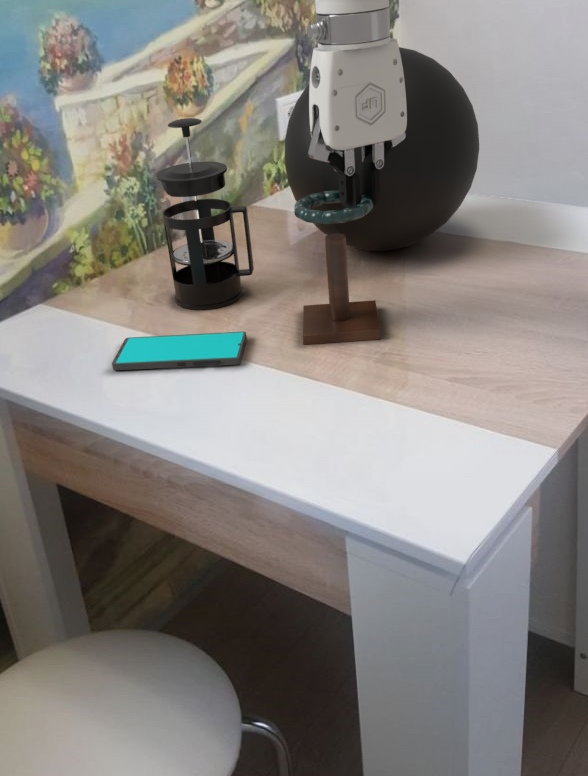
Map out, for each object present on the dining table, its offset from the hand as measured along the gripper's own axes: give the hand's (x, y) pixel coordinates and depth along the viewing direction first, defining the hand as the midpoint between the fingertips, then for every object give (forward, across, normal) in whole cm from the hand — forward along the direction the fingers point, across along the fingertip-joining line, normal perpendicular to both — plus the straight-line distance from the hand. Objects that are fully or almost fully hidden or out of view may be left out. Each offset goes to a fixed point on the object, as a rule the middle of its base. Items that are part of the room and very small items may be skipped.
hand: (360, 204), depth 101 cm
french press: (+14, -12, +20) cm, 27 cm away
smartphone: (+14, -22, +5) cm, 27 cm away
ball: (+14, +16, +21) cm, 30 cm away
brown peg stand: (+14, -4, 0) cm, 15 cm away
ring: (0, -4, 0) cm, 4 cm away
